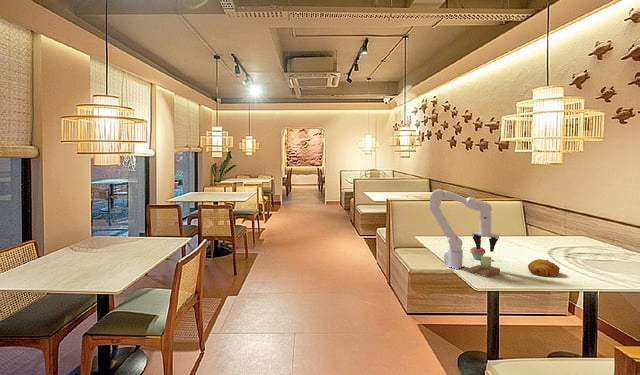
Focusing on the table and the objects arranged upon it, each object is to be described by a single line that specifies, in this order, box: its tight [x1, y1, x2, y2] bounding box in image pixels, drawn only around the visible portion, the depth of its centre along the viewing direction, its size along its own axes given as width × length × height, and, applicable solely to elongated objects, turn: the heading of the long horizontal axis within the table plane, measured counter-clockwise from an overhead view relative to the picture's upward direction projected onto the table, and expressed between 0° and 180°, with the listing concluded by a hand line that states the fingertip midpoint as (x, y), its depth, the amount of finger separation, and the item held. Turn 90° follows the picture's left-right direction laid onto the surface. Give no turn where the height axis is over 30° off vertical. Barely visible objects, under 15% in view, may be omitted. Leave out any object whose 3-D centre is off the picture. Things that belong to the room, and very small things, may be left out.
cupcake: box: [469, 238, 486, 260], centre depth 247 cm, size 9×8×12 cm
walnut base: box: [470, 264, 501, 278], centre depth 217 cm, size 10×10×3 cm
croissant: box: [527, 258, 561, 278], centre depth 217 cm, size 14×16×8 cm
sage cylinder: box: [480, 255, 492, 269], centre depth 216 cm, size 5×5×6 cm
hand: (485, 250), depth 223 cm, fingers open, 7 cm apart
